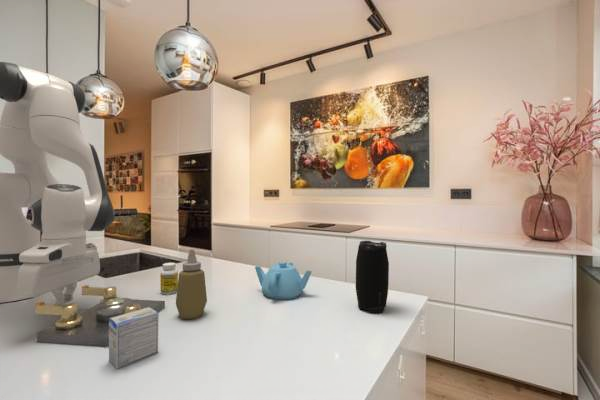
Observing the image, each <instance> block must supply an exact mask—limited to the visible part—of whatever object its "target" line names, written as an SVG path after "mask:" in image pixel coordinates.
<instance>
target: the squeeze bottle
mask: <svg viewBox="0 0 600 400" xmlns="http://www.w3.org/2000/svg"><path fill="white" fill-rule="evenodd" d="M201 265H202V263H201V261H197V256H196V252H195V249H194V248H191V249H189V252H188V254H187V259H186V261H185V262H182V270H181V271H180V272H178V287H177V292H176V298H175V306H176V308H177V312H178V314H179V317H180V318H181V319H185V320H190V319H191V320H192V319H196V318H200V317H202V315H203V314H204V311H205V309H206V305H207V302H208V297H207V286H206V277H205V275H206V274H205V271H204V270H203V269H202V266H201Z"/></svg>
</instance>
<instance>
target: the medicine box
mask: <svg viewBox="0 0 600 400" xmlns="http://www.w3.org/2000/svg"><path fill="white" fill-rule="evenodd" d="M159 313H160V312H156V311H155V310H153V309H151V308H149V307H148V308H144V309H141V310H137V311H133V312H130V313H126V314H123V315H119V316H116V317H113V318H110V319H109V347H108V360H109V361H110V363H111V365H113V366H114V368H115V369H117V370H118V369H120V368H122V367H125V366H127V365H130V364H132V363H134V362H137V361H140V360H141V359H143V358H144V359H145V358H147V357H149V356H152V355H154V354H156V353H158V352H159Z"/></svg>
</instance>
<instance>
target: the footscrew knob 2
mask: <svg viewBox="0 0 600 400" xmlns="http://www.w3.org/2000/svg"><path fill="white" fill-rule="evenodd" d="M81 296H91V297H103V299H100V300H99V301H98V304H99V303H101V302H103V301H107V300H111V299H116V298H120V297H118V296H117V286H108V287H107V286H106V287H103V286H101V287H99V286H89V285H88V284H86V285H85V284H84V285H82V286H81Z"/></svg>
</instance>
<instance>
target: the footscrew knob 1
mask: <svg viewBox="0 0 600 400" xmlns="http://www.w3.org/2000/svg"><path fill="white" fill-rule="evenodd" d="M35 314H36V315H49V316H51V315H52V316H53V315H55V316H60V319H58V320H56V321H55V322H54V323H55V324H54V325H55V328H57V329H67V328H71V327H75V326H77V325H79V324H81V323H82V316H77V314H78V304H77V303H76V302H75V303H74V302H73V303H65V304H63V305H61V304H56V303H55V304H54V303H45V301H40V302H37V303H36V302H35Z"/></svg>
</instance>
